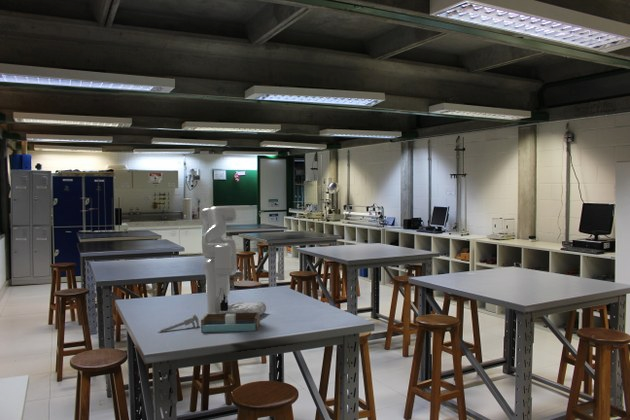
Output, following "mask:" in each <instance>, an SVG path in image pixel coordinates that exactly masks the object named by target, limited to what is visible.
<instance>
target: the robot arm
mask: <svg viewBox="0 0 630 420" xmlns="http://www.w3.org/2000/svg"><path fill="white" fill-rule="evenodd" d="M200 220H201V223H202V225H203V227H204V230H205V231H204V234H203V236H202V238H201V239H202V240H201V249H202V255H203V257H204V259H206V261H205V262H204V268H203V269H204V274H205V281H206V308H207V311H206V314H217V313H218V312H219V311H220V310H221V311H227V310H228V305H229V301H228V300H229V299H228V297H229V296H228V295H229V294H230V291H231V288H230V287H231V283H230V279H231V278H230V276H233V275H236V273H237V271H238V270H237V269H238V264H237V263H238V262H237V261H238V259H237V245H236V242H235V240H234V239H233V238H230V237H228V238H225V237H224V238H223V236H224V235H225V234H226V232H227V230H228V229H227V224H233V223H235V222H236V220H237V211H236V209H235V207H234V206H233V205H231V206H230V205H229V206H228V205H227V206H212V207H207V208H203V209H201V211H200Z"/></svg>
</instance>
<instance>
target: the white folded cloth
mask: <svg viewBox="0 0 630 420" xmlns="http://www.w3.org/2000/svg"><path fill="white" fill-rule="evenodd" d="M266 305H267V304H266V303H265V302H263V301H259V302H243V301H236V302H233V303H228V310H227V311H221V310H220V311H219V312H218V313H252V312H259V317H260V316H261V315H263V314H264V313H266V311H267V306H266Z"/></svg>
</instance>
